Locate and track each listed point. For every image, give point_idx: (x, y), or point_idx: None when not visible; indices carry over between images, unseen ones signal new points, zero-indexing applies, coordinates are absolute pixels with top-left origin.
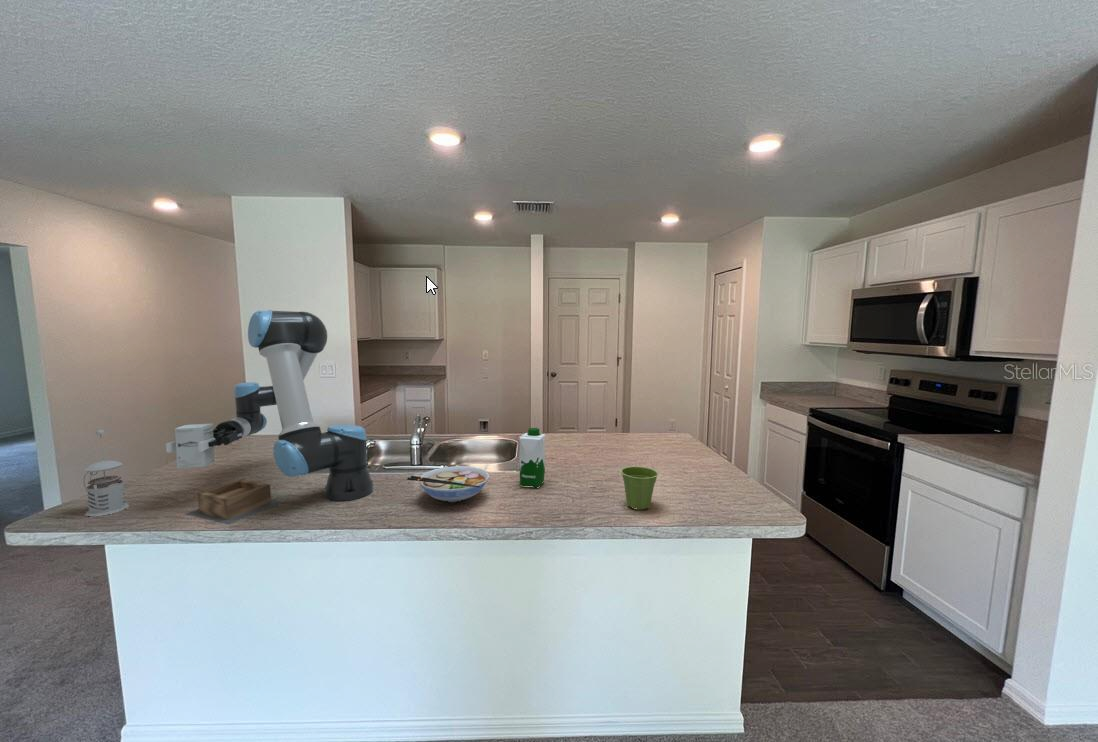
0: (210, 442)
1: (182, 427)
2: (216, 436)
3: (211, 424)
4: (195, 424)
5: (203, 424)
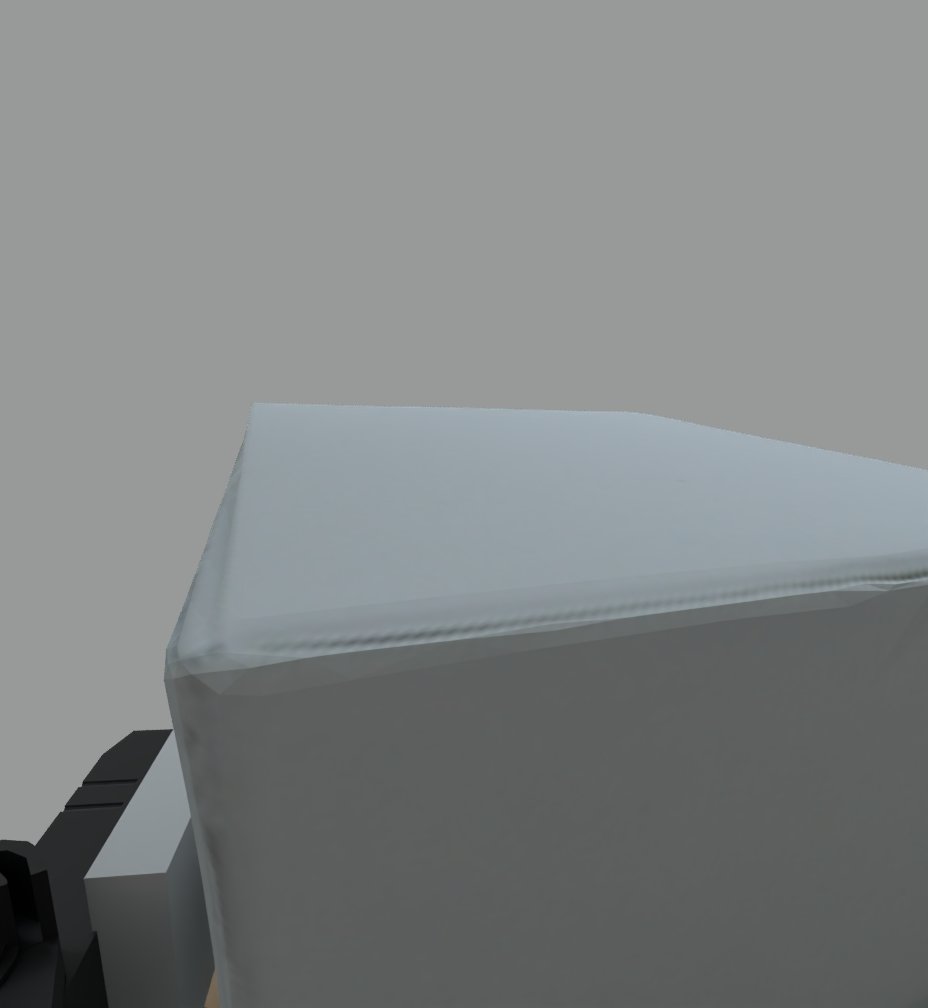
0: (157, 733)
1: (592, 412)
2: (30, 862)
3: (207, 555)
4: (799, 490)
5: (471, 472)
